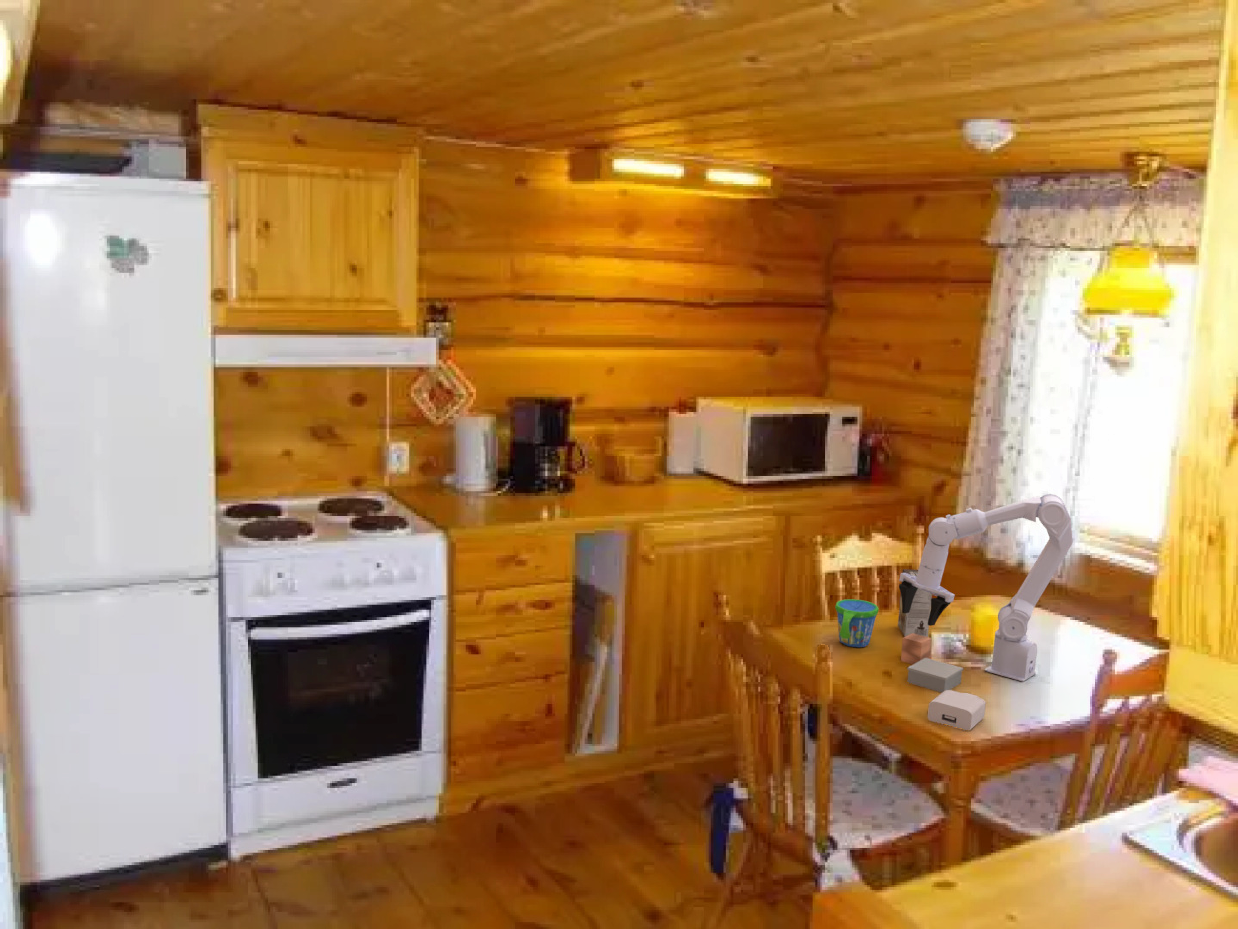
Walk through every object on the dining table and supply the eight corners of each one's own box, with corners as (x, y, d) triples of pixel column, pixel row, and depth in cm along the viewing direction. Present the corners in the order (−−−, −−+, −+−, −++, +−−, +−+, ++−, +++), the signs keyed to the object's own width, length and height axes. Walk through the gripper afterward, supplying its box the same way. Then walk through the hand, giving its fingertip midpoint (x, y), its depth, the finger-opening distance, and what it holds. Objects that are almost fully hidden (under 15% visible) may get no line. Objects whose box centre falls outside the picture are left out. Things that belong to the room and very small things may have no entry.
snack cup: (859, 656, 274) (862, 616, 272) (821, 646, 281) (823, 607, 279) (886, 641, 286) (889, 603, 284) (849, 631, 293) (852, 594, 291)
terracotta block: (929, 661, 273) (931, 638, 271) (919, 666, 269) (921, 642, 268) (910, 656, 276) (912, 633, 275) (900, 661, 272) (902, 637, 271)
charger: (993, 711, 243) (969, 733, 231) (952, 700, 249) (927, 721, 237) (995, 691, 242) (972, 711, 231) (954, 680, 248) (929, 700, 236)
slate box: (961, 684, 259) (963, 668, 258) (944, 695, 252) (945, 678, 251) (924, 673, 265) (925, 657, 264) (906, 683, 258) (907, 667, 257)
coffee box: (896, 626, 299) (901, 568, 296) (920, 627, 299) (925, 569, 296) (904, 637, 290) (909, 578, 287) (929, 638, 290) (934, 579, 287)
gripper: (897, 557, 271) (884, 608, 274) (947, 578, 261) (933, 632, 264) (914, 555, 276) (901, 606, 279) (964, 576, 265) (950, 629, 268)
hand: (918, 618), depth 271 cm, fingers open, 7 cm apart
